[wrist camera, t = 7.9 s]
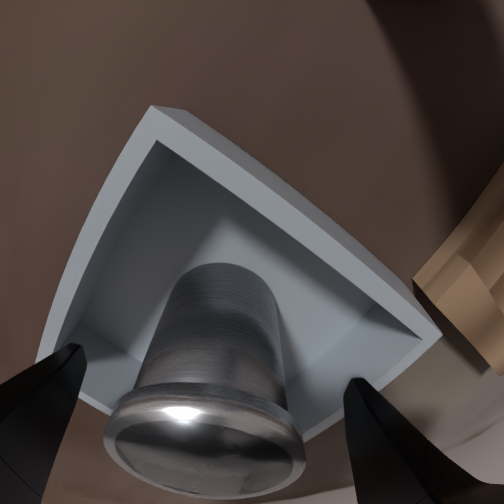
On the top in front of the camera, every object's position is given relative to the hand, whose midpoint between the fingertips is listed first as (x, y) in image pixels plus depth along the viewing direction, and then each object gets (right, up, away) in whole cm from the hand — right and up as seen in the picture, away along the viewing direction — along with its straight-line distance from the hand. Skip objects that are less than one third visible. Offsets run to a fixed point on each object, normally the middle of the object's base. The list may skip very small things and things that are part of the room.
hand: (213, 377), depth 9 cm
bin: (0, +2, +4) cm, 4 cm away
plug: (0, +1, +3) cm, 4 cm away
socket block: (+15, +4, +3) cm, 16 cm away
